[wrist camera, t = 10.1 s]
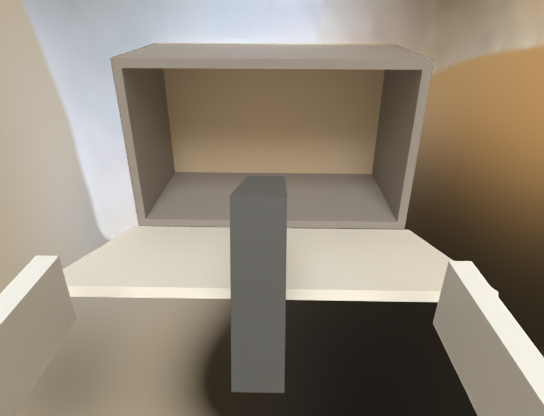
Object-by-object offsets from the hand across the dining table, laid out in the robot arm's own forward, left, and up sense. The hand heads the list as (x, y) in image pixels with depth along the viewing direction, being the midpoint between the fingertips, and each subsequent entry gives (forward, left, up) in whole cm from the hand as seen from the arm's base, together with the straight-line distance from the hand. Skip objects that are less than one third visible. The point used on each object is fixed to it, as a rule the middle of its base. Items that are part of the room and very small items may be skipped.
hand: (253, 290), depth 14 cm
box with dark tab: (0, +1, -8) cm, 8 cm away
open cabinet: (0, 0, -25) cm, 25 cm away
